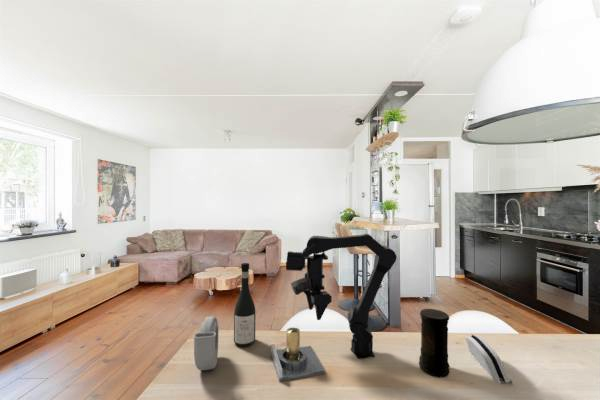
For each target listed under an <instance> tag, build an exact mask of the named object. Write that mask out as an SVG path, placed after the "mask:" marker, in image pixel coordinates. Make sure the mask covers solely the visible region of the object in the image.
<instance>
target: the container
mask: <svg viewBox="0 0 600 400" xmlns="http://www.w3.org/2000/svg"><path fill="white" fill-rule="evenodd" d="M419 315H420V319H421V322H420V326H421V328H420V329H421V330H420V331H421V334H420V337H421V338H420V339H421V340H420V341H421V342H420V354H419V355H420V356H419V358H418V359H419V361H418V366H419V368H420V370H421V371H422V372H423V373H424V374H427V375H429V376H430V377H431V376H432V377H434V378H443V379H444V378H446V377H449V374H450V363H449V362H448V361H449V353H448V352H449V351H448V349H449V348H448V343H449V342H448V341H449V339H448V337H449V336H448V335H449V328H448V324H449V321H450V316H449V315H448V313H446V312H445V311H442V310H438V309H436V308H435V309H433V308H423V309H421V310H420V312H419Z"/></svg>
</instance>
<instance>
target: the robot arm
mask: <svg viewBox="0 0 600 400" xmlns="http://www.w3.org/2000/svg"><path fill="white" fill-rule="evenodd" d="M356 247H367V248H368V249H369V250H370V251H372V252H373V253H374V260H373V267H372V271H371V273H370V276H369V278H368V281H367V283H366V285H365V288H364V290H363V292H362V295H361V297H360V299H359V302H358V303H357V304H356V305H355V306H354V305H350V309H349V310H350V311H348V313H347V321H348V326H349V330H350V332H351V333H352V339H351V340H350V341H351V343H350V344H351V347H350V351H351V352H352V354H354V355H355V357H356V358H357V359H359V360H362V359H368V358H375V356H376V355H375V352H373V346H374V345H373V342H374V341H373V338H374V335H373V333H372V330H371V327H370V325H369V317H370V310H371V308H372V306H373V303H374V301H375V298H376V296H377V295H378V291H379V289H380V287H381V284H382V282H383V280H384V278H385V275H387V273H388V272H389V271H390V270H391V269H392V267H393V266H394V264H395V263H396V261H397V254H396V252H395V251H394V250H393V249H391V248H390V247H389V246H386V245H382V244H381V243H379V242H378V241H377V240H376V239H374V237H373V236H372V235H370V234H369V233H363V234H355V235H344V236H334V237H333V236H332V237H331V236H325V235H312V236H310V237H309V238H308V241H307V242H306V247H305V248H304V249H303V250H302V251H290V250H289V251H288V252H287V253H286V254H287V256H286V261H285V270H286V271H287V272H288V271H289V272H291V271H292V272H295V271H296V272H303V270H304V269H306V272H305V274H304V277H302V278H299V279H296V280H294V281H292V282H291V283H290V285H291V288H292V291H293V292H294V294H295V295H301V294H302V293H304V295H305V296H306V301H307V304H308V309H309V311H310V310H313V308H314V307H315V313H316V314H315V316H316V320H317V321H320V320H321V319H322V317H323V315H324V313H325V311H326V309H327V307H328V305H330V304H331V303H332V302H333V300H332V298H333V297H332V295H330V293H329V292H328V291H326V290H325V286H324V284H323V283H324V279H325V274H324V273H323V270H324V264H323V263H324V261H328V260H329V256H328V255H327V254H326V252H327V251H329V250H333V249H345V248H356Z"/></svg>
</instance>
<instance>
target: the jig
mask: <svg viewBox="0 0 600 400" xmlns="http://www.w3.org/2000/svg"><path fill="white" fill-rule="evenodd" d="M270 350H271V352H270V354H271V355H270V356H271V358H272V363H273V365H274V369H275V371H276V375H277V380H278V382H283V381H289V380H291V381H292V380H296V379H302V378H306V377H308V378H309V377H314V376H320V375H325V374H326V371H325V369H324V367H323V365H322V363H321V362H320V360H319V358H318V357H317V355H316V353H315V351H314V349H313V347H312V346H311V345H307V346H300V359H299V360H295V361H290V360H286V348H285V347H284V349H278V350H277V349H276V346H275V344H274V343H273V344H272V343H271V344H270Z"/></svg>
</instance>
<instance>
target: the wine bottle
mask: <svg viewBox="0 0 600 400" xmlns="http://www.w3.org/2000/svg"><path fill="white" fill-rule="evenodd" d="M240 268H241V287H240V293H239V296H238V298H237V301H236V303H235V307H234V310H233V311H234V312H233V342H234V344H235V345H236V346H238V347H244V348H245V347H249V346H251V345H253V344H254V343H255V341H256V306H255V303H254V300H253V297H252V295H251V291H250V285H249V279H250V278H249V275H250V274H249V271H250V263H249V262H243V263H241V264H240Z"/></svg>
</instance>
